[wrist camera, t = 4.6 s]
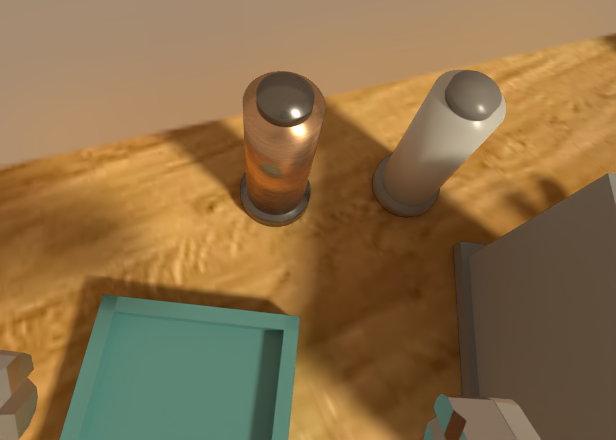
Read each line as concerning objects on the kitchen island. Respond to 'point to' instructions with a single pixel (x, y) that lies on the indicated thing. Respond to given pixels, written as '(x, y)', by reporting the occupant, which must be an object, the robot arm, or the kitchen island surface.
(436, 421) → the robot arm
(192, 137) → the kitchen island surface
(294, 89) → the copper cartridge
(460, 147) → the cylinder
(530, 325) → the box
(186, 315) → the tray
